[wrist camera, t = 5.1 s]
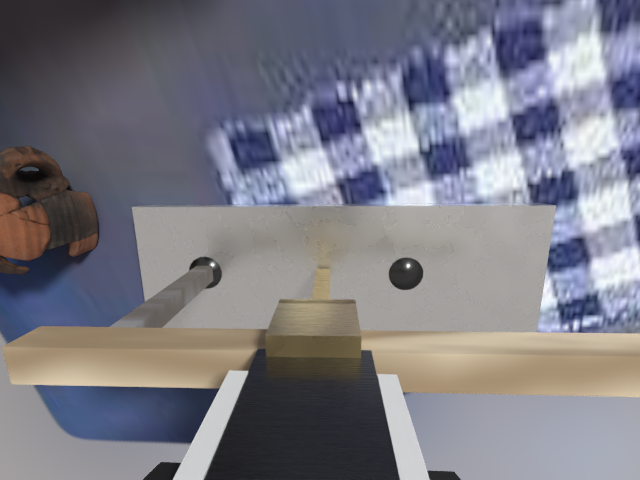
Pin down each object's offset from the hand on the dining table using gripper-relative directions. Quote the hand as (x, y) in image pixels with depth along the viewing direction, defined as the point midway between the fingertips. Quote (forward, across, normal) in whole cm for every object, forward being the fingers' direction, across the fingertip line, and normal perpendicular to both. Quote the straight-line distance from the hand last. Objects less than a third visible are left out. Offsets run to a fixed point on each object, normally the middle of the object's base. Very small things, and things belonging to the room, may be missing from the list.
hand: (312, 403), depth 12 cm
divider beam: (+16, +1, 0) cm, 16 cm away
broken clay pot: (+18, -26, +6) cm, 32 cm away
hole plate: (+18, +1, 0) cm, 18 cm away
